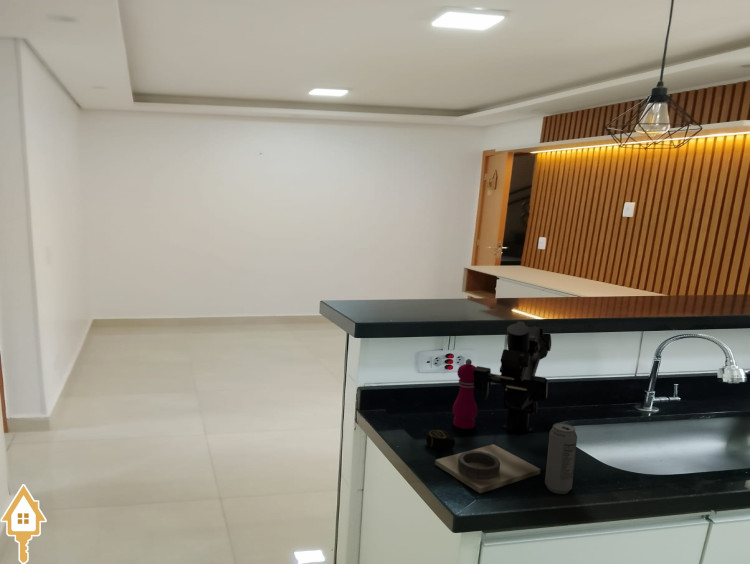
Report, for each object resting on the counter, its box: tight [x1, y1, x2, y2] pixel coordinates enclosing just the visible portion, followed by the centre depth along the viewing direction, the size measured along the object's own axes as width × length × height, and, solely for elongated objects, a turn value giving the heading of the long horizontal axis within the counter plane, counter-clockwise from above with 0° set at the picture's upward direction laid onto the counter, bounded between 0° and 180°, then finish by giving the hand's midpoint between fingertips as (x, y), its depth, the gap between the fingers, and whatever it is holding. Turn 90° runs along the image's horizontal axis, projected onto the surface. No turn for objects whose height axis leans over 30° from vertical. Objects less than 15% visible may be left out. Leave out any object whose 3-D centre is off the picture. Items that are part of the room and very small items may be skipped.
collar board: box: [434, 443, 541, 494], centre depth 139 cm, size 20×16×4 cm
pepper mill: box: [452, 358, 478, 430], centre depth 166 cm, size 7×7×20 cm
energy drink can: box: [544, 422, 578, 495], centre depth 131 cm, size 6×6×15 cm
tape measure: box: [425, 429, 456, 451], centre depth 151 cm, size 7×7×4 cm
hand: (502, 404), depth 140 cm, fingers open, 9 cm apart
